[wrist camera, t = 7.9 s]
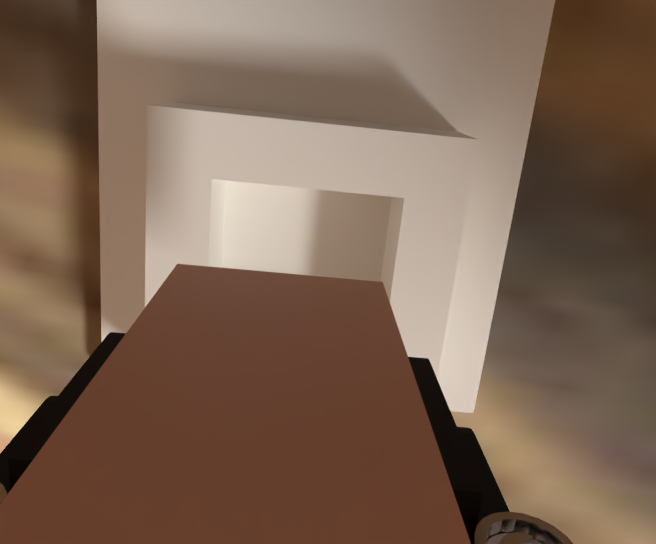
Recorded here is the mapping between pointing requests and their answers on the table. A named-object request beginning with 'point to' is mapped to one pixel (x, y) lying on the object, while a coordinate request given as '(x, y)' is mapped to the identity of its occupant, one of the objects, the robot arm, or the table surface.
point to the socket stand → (320, 152)
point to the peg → (245, 426)
